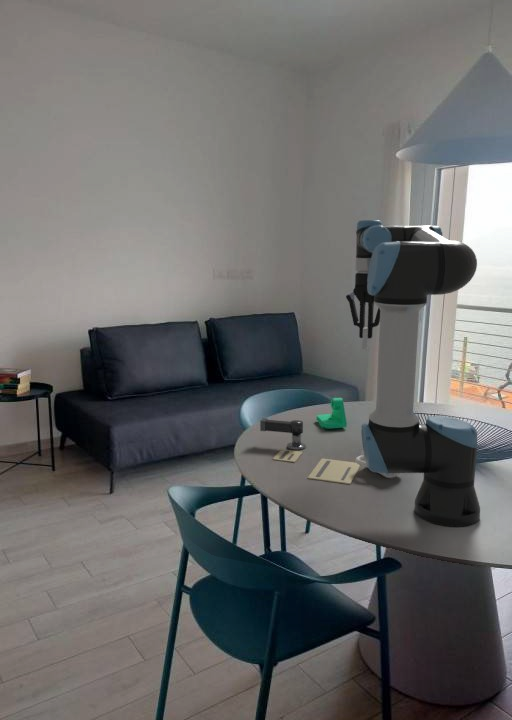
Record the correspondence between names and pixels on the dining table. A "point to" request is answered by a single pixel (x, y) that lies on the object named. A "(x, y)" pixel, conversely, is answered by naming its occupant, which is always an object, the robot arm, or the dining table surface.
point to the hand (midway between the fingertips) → (365, 348)
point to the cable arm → (282, 426)
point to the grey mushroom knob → (296, 443)
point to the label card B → (334, 471)
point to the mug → (363, 463)
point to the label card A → (288, 455)
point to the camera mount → (334, 415)
